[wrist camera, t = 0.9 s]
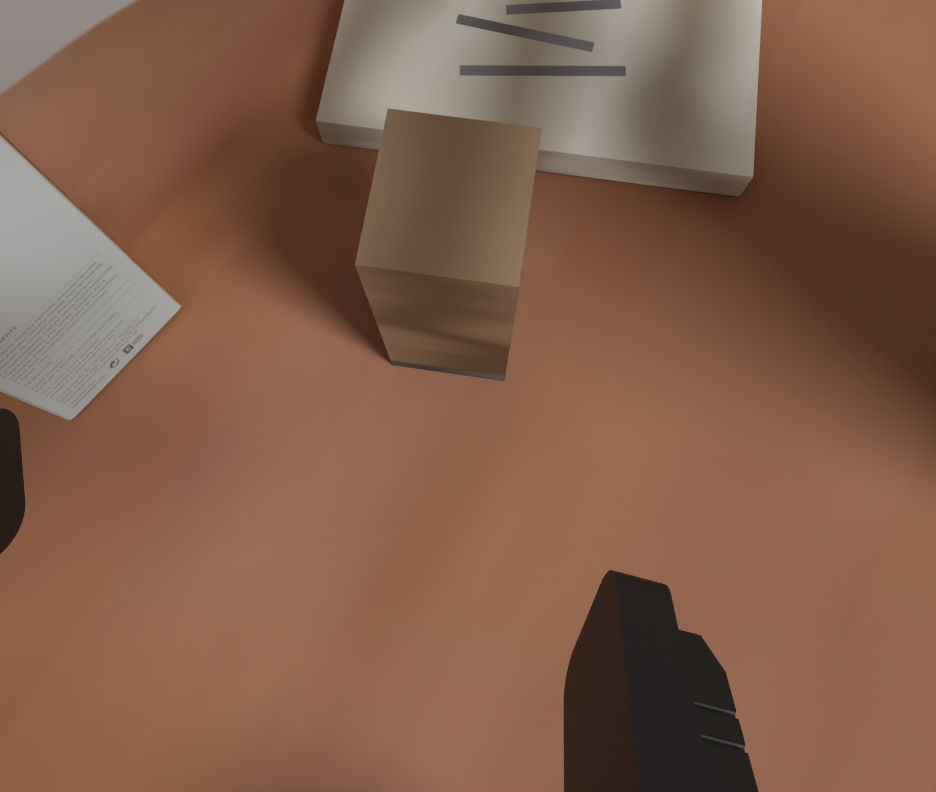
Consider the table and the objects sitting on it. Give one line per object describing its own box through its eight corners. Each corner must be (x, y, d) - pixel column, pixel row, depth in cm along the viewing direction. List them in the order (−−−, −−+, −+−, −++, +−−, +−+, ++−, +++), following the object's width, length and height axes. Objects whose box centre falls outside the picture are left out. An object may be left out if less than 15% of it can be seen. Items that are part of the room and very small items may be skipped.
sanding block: (520, 266, 28) (541, 127, 20) (504, 381, 27) (518, 286, 19) (413, 251, 29) (387, 108, 20) (392, 365, 27) (354, 264, 19)
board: (749, 5, 32) (763, -23, 30) (739, 196, 29) (753, 176, 28) (365, -40, 33) (361, -69, 31) (323, 143, 30) (315, 120, 29)
